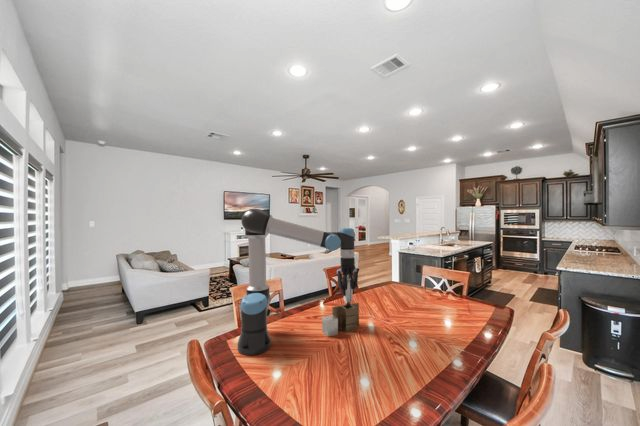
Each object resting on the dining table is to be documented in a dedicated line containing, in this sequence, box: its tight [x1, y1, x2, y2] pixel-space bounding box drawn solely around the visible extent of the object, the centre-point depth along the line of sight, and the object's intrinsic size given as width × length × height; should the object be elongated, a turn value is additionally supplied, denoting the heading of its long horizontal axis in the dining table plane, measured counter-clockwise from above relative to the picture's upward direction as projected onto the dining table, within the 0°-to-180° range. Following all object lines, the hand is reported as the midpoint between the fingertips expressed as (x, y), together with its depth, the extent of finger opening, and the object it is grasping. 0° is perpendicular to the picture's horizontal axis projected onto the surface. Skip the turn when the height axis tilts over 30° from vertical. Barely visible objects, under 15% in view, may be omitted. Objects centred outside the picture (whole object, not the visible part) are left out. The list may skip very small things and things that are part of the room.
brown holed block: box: [340, 302, 360, 333], centre depth 143 cm, size 11×6×12 cm, turn 114°
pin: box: [345, 276, 352, 308], centre depth 142 cm, size 3×3×17 cm
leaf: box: [321, 305, 356, 338], centre depth 139 cm, size 17×6×12 cm, turn 114°
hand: (348, 300), depth 142 cm, fingers closed on pin, 2 cm apart
